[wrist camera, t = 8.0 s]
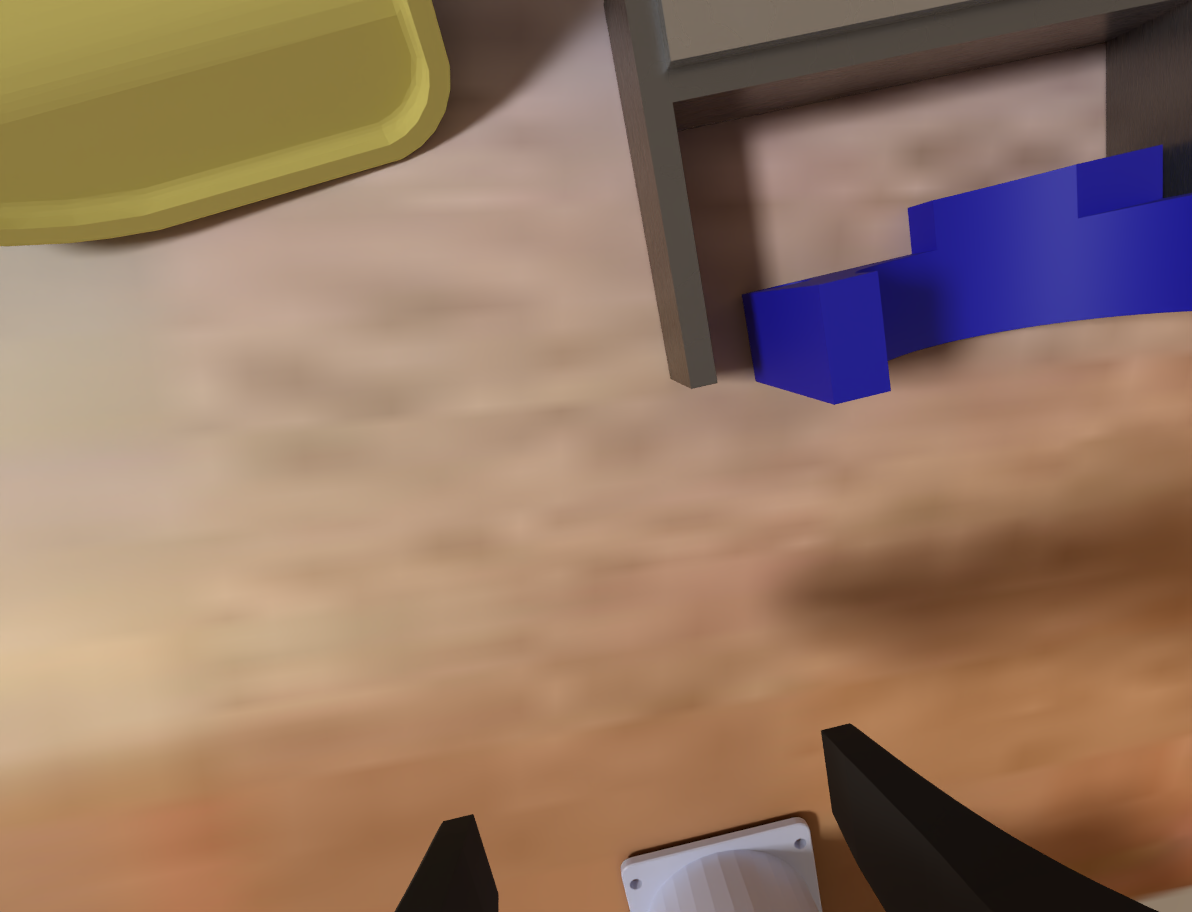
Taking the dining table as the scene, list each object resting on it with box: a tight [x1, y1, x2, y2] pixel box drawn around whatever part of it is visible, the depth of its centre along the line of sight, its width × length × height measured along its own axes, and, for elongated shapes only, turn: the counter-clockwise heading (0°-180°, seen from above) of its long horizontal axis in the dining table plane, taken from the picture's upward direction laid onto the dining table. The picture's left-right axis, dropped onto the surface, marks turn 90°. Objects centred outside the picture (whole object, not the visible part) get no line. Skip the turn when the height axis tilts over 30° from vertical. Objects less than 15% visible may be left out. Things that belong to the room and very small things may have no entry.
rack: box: [604, 0, 1192, 389], centre depth 18 cm, size 11×17×4 cm
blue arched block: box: [742, 144, 1192, 405], centre depth 18 cm, size 12×4×6 cm, turn 103°
